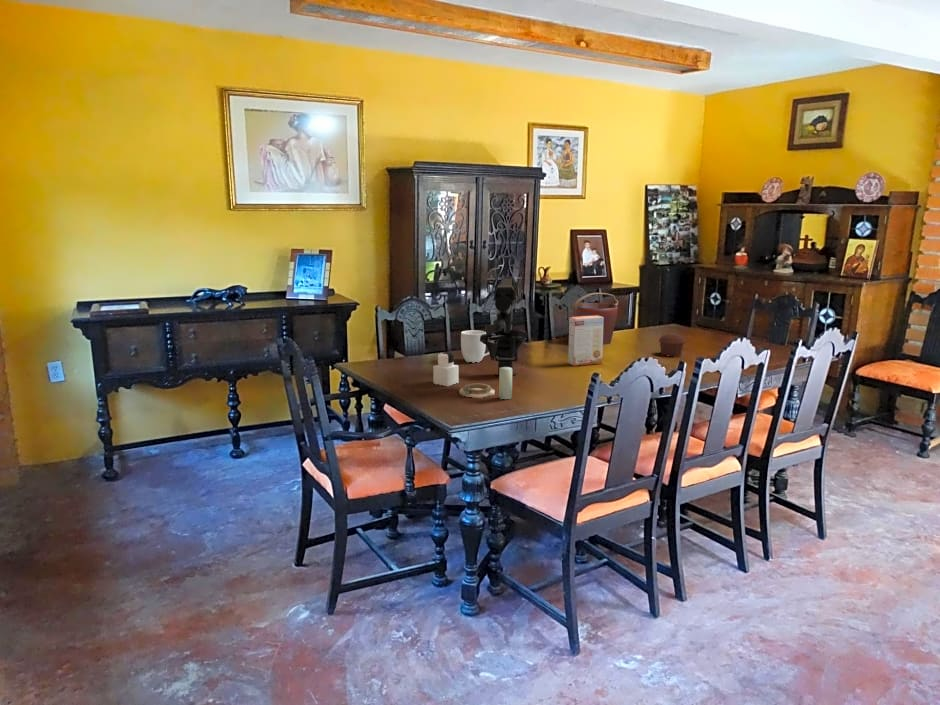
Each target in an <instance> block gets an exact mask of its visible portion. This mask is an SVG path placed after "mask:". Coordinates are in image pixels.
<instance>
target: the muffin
mask: <svg viewBox="0 0 940 705" xmlns="http://www.w3.org/2000/svg"><path fill="white" fill-rule="evenodd" d="M658 341H659V345H660V354H661V353H662V354H664V355H669V356H679V355H681V356H682V354H683V349H684V345H685V343H686V341H685V338H684V337H683V336H682V335H680V334H678V333H675V332H668V333H667V332H666V333H665V334H663V335H662V336H660V338H659V339H658ZM679 357H680V356H679Z"/></svg>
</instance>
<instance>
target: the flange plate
mask: <svg viewBox="0 0 940 705" xmlns="http://www.w3.org/2000/svg"><path fill="white" fill-rule="evenodd" d="M458 391H459V395H460V396H462V397H464V396H465V398H469V397H472V398H471V399H484V398H483V397H486V398H490V397H493V396H494V395H495V392H496V390H495V389H494V388H492V386H491V385H490V384H486V383H479V382H478V383H475V382H474V383H467V384H464V385H463V387H462V388H460V389H459V390H458ZM492 395H493V396H492ZM489 396H490V397H489Z"/></svg>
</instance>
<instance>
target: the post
mask: <svg viewBox="0 0 940 705" xmlns="http://www.w3.org/2000/svg"><path fill="white" fill-rule="evenodd" d="M498 378H499V379H498V382H499V383H498V389H499V390H498V398H500V399H499V400H502V399H510V400H512V399H513V376H512V368H511V367H501V368H499V376H498ZM511 398H512V399H511Z"/></svg>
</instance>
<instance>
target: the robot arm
mask: <svg viewBox="0 0 940 705" xmlns="http://www.w3.org/2000/svg"><path fill="white" fill-rule="evenodd" d="M519 286H520V285H519V283H518V282H517V281H515V277H514V276H503V277H501V280H500V282H498V284H497V287H496V289H494V294H493V295H494V296H493V302H494V307H495V311H496V319H495V320H494V321H493V323H492V324H487V325H484V327H485V332H486V334H482V335H481V336H480V342H482V343H483V344H485V345H486V348H487V350H488V352H489V353H490V354H489V356H490V359H491V361H495V362H497V363H498V365H497V372H496V373H495V374H494V376H498V377H499V368H501V367H511V368H512V377H514V376H516V375H517V373H516V372H514V362H515V363H516V362H517V361H519V348H520V347H521V345H522V343H523V342H525V340H528V333H527V331H525V330H522V329H519V328H517V329H513V328H512V327H513V325H514V321H513V308H514V306H515V304H516V303H517V302H518V298H519V295H520V291H519V290H520V289H519Z"/></svg>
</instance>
